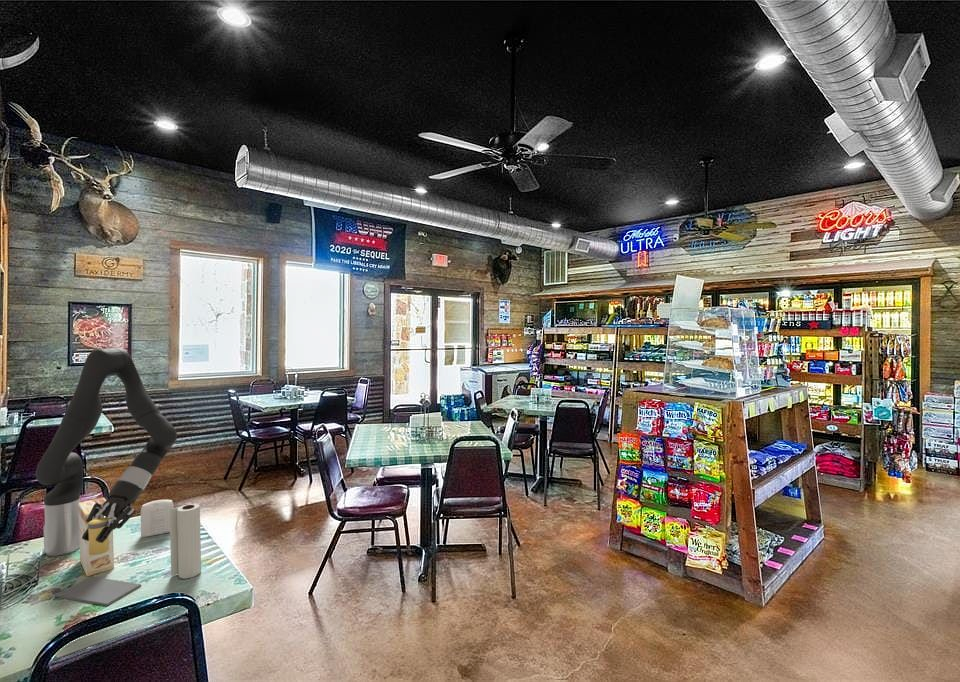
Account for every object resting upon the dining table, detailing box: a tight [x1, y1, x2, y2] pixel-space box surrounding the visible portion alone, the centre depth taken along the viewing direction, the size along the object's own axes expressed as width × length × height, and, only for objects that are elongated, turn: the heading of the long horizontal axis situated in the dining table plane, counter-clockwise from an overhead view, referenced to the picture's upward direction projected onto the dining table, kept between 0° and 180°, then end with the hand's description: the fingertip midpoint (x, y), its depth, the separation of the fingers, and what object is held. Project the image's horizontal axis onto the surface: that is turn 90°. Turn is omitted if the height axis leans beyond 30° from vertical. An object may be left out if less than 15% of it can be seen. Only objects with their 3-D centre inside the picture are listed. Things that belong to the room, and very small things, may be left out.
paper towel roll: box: [169, 503, 202, 580], centre depth 146 cm, size 7×6×21 cm
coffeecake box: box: [78, 497, 115, 577], centre depth 152 cm, size 15×7×20 cm, turn 47°
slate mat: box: [54, 575, 142, 607], centre depth 136 cm, size 19×10×1 cm, turn 77°
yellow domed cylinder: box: [88, 518, 109, 555], centre depth 136 cm, size 5×5×9 cm
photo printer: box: [140, 499, 175, 538], centre depth 174 cm, size 10×4×12 cm, turn 123°
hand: (92, 540), depth 134 cm, fingers closed on yellow domed cylinder, 4 cm apart
